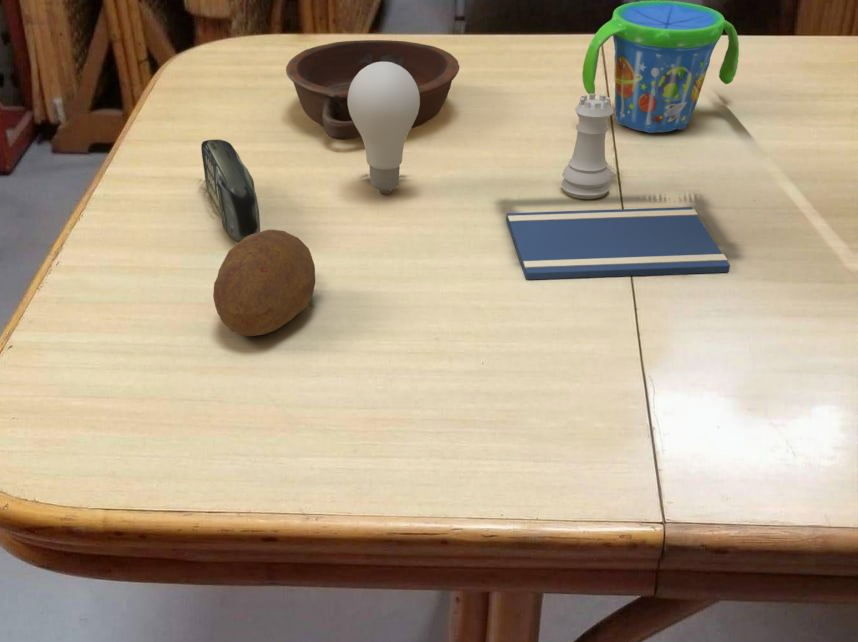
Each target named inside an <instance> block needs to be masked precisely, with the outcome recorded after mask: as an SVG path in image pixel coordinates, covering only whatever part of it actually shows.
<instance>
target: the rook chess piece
mask: <svg viewBox="0 0 858 642" xmlns="http://www.w3.org/2000/svg"><path fill="white" fill-rule="evenodd" d="M588 95H589V96H588ZM588 95H587V94H583V95H581V96H580V98H579V103H578V104H577V105H576V106H575V108H574V111H575V113H576V114H577V116H578V123H577V124H576V125H575V130H576V139H575V144H574V148H573V152H572V156H571V157H570V159H568V164H567V165H566V166H564V169H563V171H562V173H561V175H562V177H563V179H562V180H561V182H560V186H561V189H562V191H563V192H564V194H566V195H568V196H569V197H572V198H575V199H580V200H595V199H600V198H602V197H604V196H605V195H607V194H608V192H609V191H610V189H611V187H612V186H611V183H610V180H611V179H612V172H611V170H610V168H609V167H608V165H609V163H608V161H607V160H606V146H605V145H606V133H607V132H608V131H609V127H608V125H607V121H608V119H609V118H610V117H611V116H612V114H613V112H614V109H613V108H612V106H611V97H610V96H607V95H606V94H602V93H601V94H599V98H596V93H595V94H588Z"/></svg>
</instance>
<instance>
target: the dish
mask: <svg viewBox="0 0 858 642" xmlns="http://www.w3.org/2000/svg"><path fill="white" fill-rule="evenodd" d="M376 62H391V63H394V64H397V65H399V66H401V67H402V68H404V69H405V70H406V71H408V73H409V74H410V75H411V76H412V78H413V79H414V81H415V83H416V85H417V88H418V90H419V96H420V106H419V111H418V115H417V117H416V119H415V121H414V123H413V125H412V127H411V129H414V128H417V127H419V126H422V125H424V124H426V123H428V122H429V121H431V120H433V119H435V117H436V116H438V114H439V113H440V112H441V110H442V108H443V107H444V104H445V102H446V100H447V98H448V95H449V94H450V93H449V92H450V89H451V86H452V82H453V80H454V79H455V78H456V77H457V75H458V73H459V71H460V64H459V61H458V59H457V58H456V57H455V56H454V55H453V54H452V53H450V52H448V51H446V50H445V49H442V48H440V47H437V46H433V45H429V44H424V43H420V42H419V43H418V42H414V41H413V42H412V41H405V40H392V39H391V40H390V39H389V40H388V39H369V40H368V39H362V40H344V41H343V40H342V41H334V42H331V43H326V44H321V45H320V44H319V45H317V46H313V47H311V48H307V49H304V50H303V51H301V52H299V53H298V54H296V55H295V56H294V57H292V58H291V59H290V60H289V61H288V63H287V65H286V66H285V73H286V76H287V77H288V79H289V80H290V81H291V82H292V83H293V86H294V88H295V92H296V94H297V95H296V96H297V99H298V101H299V103H300V106H301V108H302V110H303V111H304V113H305V114H306V116H307V117H308V118H310V120H312V121H313V122H315V123H317V124H318V125H320V126H321V127H323V130H324V131H325V134H326V136H328V137H329V138H331V139H332V140H336V141H337V140H338V141H350V140H357V139H360V138H362V137H361V135H360V133H359V131H358V129H357V128H356V126H355V124H354V122H353V120H352V118H351V116H350V113H349V109H348V100H347V99H348V92H349V88H350V85H351V83H352V81H353V79H354V78H355V76H356V75H357V74H358V73H359V71H361V70H362V69H363V68H365V67H366V66H368V65H370V64H373V63H376ZM411 129H410V130H411Z"/></svg>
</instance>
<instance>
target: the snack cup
mask: <svg viewBox="0 0 858 642" xmlns="http://www.w3.org/2000/svg"><path fill="white" fill-rule="evenodd" d="M723 32H725V33H726V34H727V41H728V43H727V49H726V51H725V54H724V58H723V61H722V63H721V66H720V68H719V72H718V78H719V80H720V81H721V82H722V83H723V84H725V85H729V84H731V83H732V82H733V81H734V78H735V76H736V74H737V70H738V65H739V58H740V57H739V56H740V46H739V45H740V43H739V36H738V33H737V30H736V28H735V26H734V25H733V24H732V23H731V22H729V21H727V20H725V17H724V15H723V14H722V13H721V12H720V11H717V10H716V9H713V8H710V7H707V6H703V5H701V4H696V3H690V2H683V1H674V0H642V1H641V0H640V1H634V2H629V3H625V4H622V5H620V6H618V7H616V8H615V9H614V10H613V13H612V17H611V19H610V20H609V21H607V22H606V23H603V25H602V26H601V27H600V28H599V29H598V30H597V31H596V32H595V34H594V35H593V37H592V39H591V41H590V43H589V44H588V45H589V46H588V48H587V51H586V54H585V57H584V61H583V66H582V73H581V74H582V84H583V88H584V89H585V91H586V93H587V94H588V95H590V94H595V95H596V84H595V81H596V74H597V71H598V69H597V68H598V62H599V56H600V49H601V47H602V46H603V45H604V44H605V43H606V42H607V41H608V40H609V39H610V38H612V39H613V44H614V74H613V75H614V112H615V113H614V114H615V118H616V121H617V123H618V124H619V125H623V126H625V127H627V128H629V129H631V130H634V131H639V132H645V133H648V134H653V133H668V132H671V131H672V132H673V131H674V130H680V131H682V130H685V129H686V127H687V125H688V124H689V122H690V121H691V120H692V118H693V116H694V113H695V110H696V107H697V103H698V100H699V98H700V94H701V91H702V88H703V85H704V82H705V80H706V75H707V73H708V72H707V71H708V69H709V66H710V62H711V57H712V54H713V52H714V49H715V47H716V45H717V44H718V42H719V41H720V39H721V37H722V35H723Z"/></svg>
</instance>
